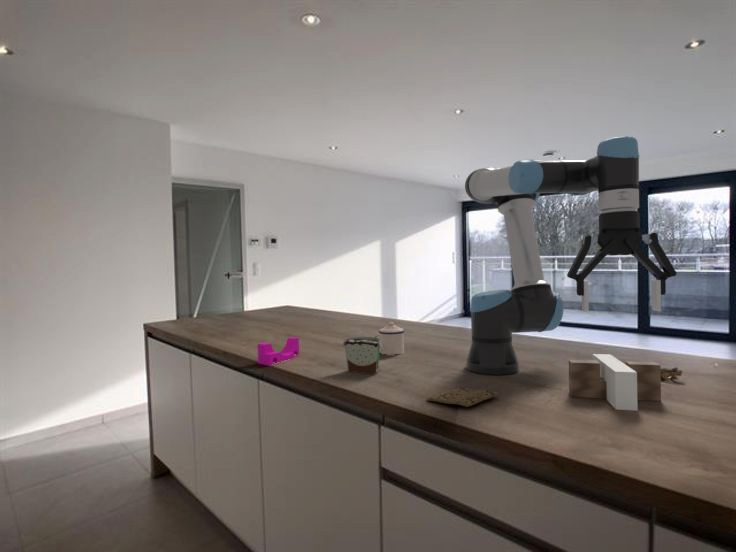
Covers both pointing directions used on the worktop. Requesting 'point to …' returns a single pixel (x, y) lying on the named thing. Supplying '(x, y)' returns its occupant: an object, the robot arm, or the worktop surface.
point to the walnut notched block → (592, 386)
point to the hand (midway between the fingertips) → (620, 310)
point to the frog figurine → (670, 374)
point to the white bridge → (618, 382)
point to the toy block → (269, 355)
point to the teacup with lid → (391, 339)
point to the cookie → (463, 396)
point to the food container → (362, 354)
